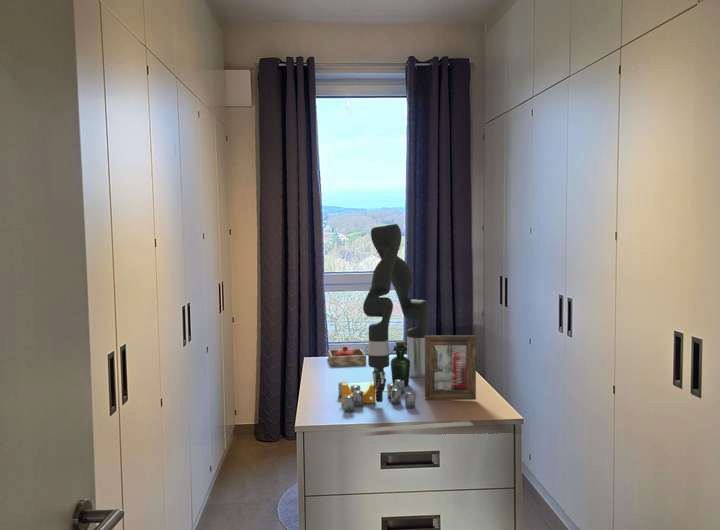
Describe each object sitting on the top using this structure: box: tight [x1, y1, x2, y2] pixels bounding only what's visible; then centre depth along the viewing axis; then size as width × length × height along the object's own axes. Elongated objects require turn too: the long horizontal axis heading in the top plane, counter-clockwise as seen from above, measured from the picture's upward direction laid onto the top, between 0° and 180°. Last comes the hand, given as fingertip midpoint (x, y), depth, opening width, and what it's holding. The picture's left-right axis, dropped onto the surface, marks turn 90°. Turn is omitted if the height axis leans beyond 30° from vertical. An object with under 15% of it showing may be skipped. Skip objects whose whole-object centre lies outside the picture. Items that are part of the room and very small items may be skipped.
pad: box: [347, 381, 387, 393], centre depth 208 cm, size 16×14×1 cm
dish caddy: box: [327, 348, 367, 367], centre depth 250 cm, size 17×16×5 cm
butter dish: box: [336, 345, 355, 356], centre depth 249 cm, size 12×12×8 cm
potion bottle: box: [390, 339, 410, 388], centre depth 211 cm, size 8×8×18 cm
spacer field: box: [337, 379, 416, 413], centre depth 190 cm, size 26×21×5 cm
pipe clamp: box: [341, 382, 376, 405], centre depth 188 cm, size 12×4×6 cm, turn 86°
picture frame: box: [424, 335, 477, 401], centre depth 191 cm, size 19×2×24 cm, turn 87°
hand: (379, 401), depth 184 cm, fingers closed
